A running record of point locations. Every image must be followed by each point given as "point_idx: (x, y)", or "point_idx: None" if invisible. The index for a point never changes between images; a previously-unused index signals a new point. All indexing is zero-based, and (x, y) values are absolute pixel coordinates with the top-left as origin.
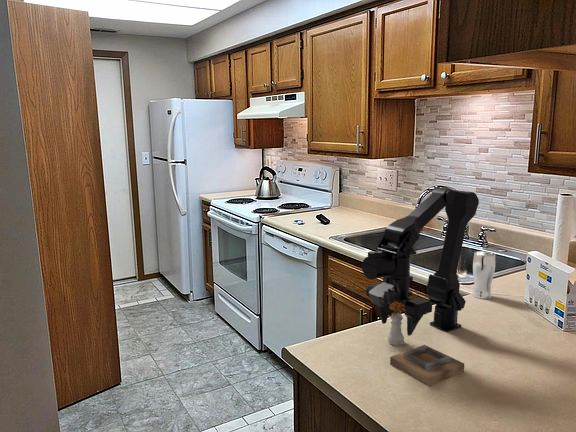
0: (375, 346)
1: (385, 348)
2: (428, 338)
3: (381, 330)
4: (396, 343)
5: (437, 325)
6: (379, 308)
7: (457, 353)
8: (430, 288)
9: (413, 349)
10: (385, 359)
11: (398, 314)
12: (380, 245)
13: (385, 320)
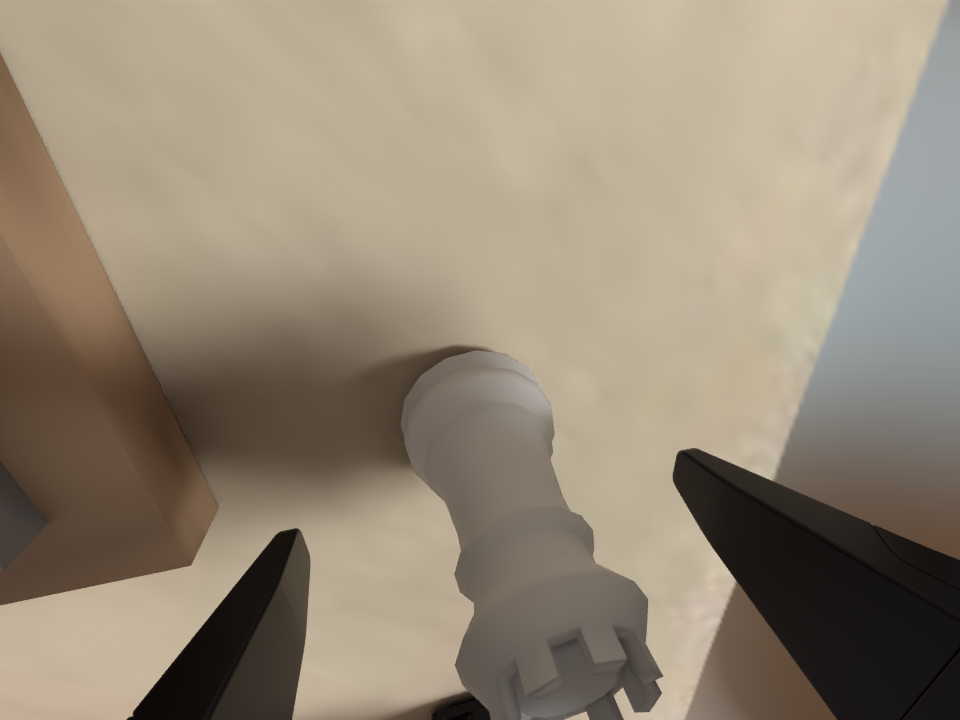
0: (503, 195)
1: (419, 259)
2: (413, 612)
3: (683, 426)
4: (420, 391)
5: None
6: (931, 581)
7: (126, 668)
8: None
9: (94, 430)
10: (159, 59)
11: (585, 709)
12: None
13: (694, 495)
